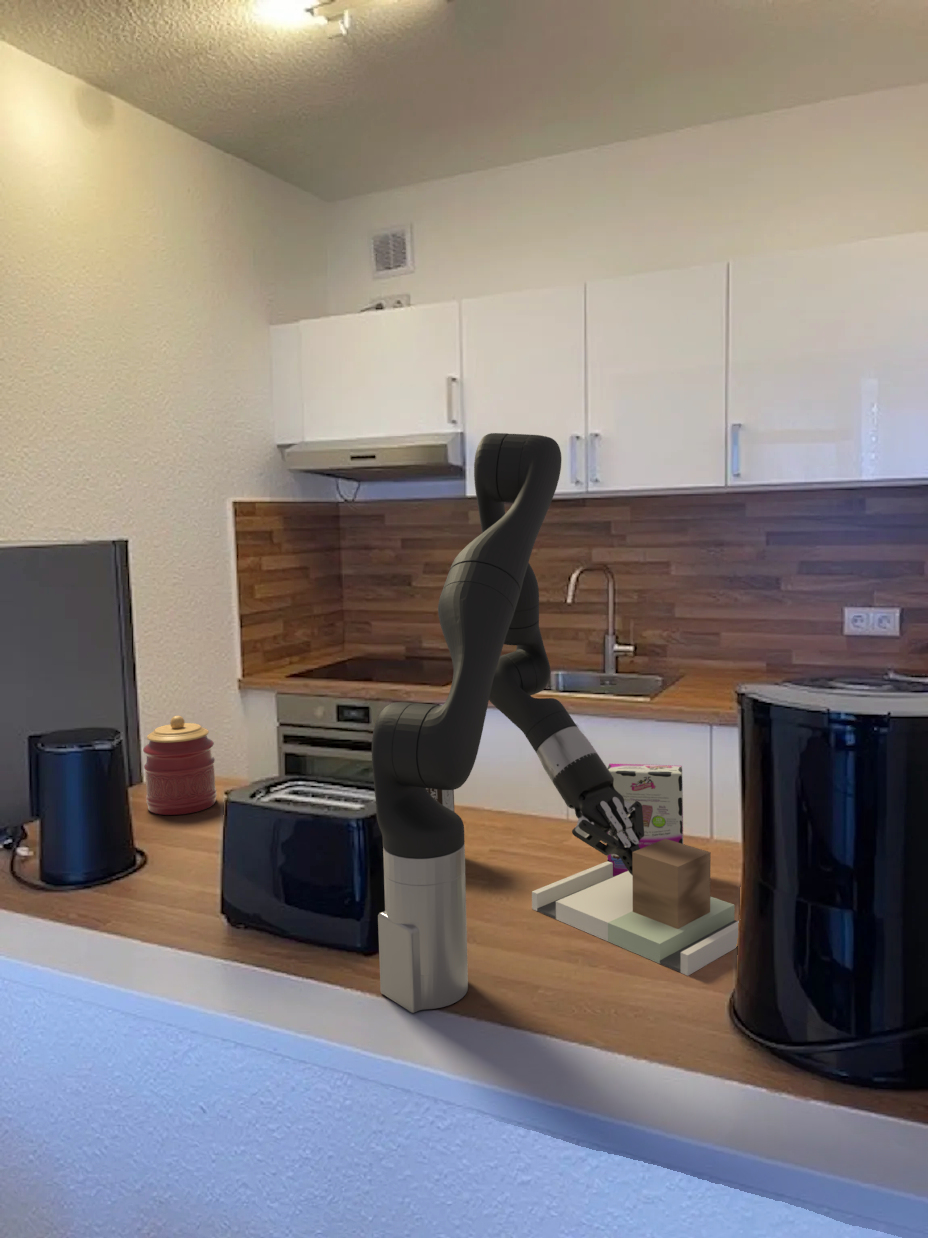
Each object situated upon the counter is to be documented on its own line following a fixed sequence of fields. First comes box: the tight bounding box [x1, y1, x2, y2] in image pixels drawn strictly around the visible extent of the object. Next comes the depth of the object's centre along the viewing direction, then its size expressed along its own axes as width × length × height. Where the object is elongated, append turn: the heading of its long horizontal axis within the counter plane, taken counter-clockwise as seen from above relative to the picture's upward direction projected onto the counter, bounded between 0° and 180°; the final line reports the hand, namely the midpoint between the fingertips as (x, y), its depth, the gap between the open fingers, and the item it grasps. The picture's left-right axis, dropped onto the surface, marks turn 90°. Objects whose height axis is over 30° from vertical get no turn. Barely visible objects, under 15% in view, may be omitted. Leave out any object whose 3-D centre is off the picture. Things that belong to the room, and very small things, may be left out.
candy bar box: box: [606, 763, 684, 877], centre depth 136 cm, size 11×5×16 cm, turn 76°
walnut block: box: [632, 839, 712, 929], centre depth 117 cm, size 7×7×8 cm
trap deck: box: [531, 861, 739, 976], centre depth 121 cm, size 16×26×2 cm, turn 41°
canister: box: [142, 715, 217, 816], centre depth 175 cm, size 13×13×18 cm
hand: (644, 875), depth 120 cm, fingers closed
